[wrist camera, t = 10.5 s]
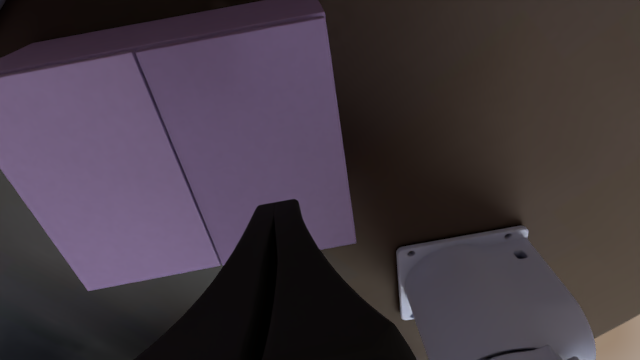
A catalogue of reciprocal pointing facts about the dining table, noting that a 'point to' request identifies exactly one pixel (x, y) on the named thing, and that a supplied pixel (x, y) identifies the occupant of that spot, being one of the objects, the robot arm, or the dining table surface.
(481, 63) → the dining table surface
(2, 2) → the smartphone
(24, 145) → the flap
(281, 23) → the storage box
